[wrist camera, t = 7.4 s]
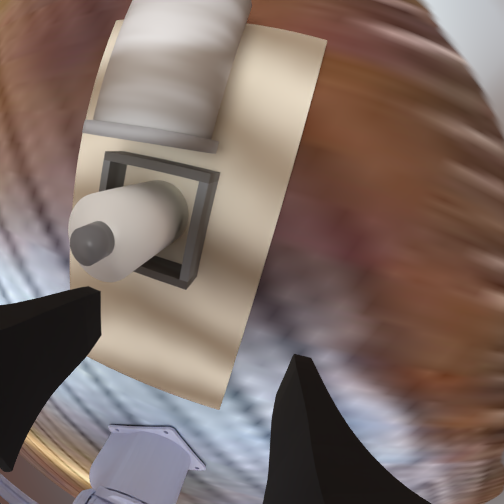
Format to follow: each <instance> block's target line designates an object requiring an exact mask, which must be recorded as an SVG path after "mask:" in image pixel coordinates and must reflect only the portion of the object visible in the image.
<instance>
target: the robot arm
mask: <svg viewBox="0 0 504 504" xmlns="http://www.w3.org/2000/svg"><path fill="white" fill-rule="evenodd" d="M101 335H102V333H101V291H99V290H96V289H94V288H92V287H89V286H86V287H80V288H76V289H71V290H67V291H64V292H60V293H56V294H52V295H48V296H44V297H41V298H36V299H32V300H27V301H23V302H18V303H13V304H7V305H0V468H1V469H2V470H3V471H5V472H10V471H12V470H13V467H14V464H15V462H16V459H17V456H18V454H19V451H20V449H21V447H22V445H23V442H24V440H25V438H26V436H27V434H28V432H29V430H30V428H31V427H32V425H33V423H34V421H35V420H36V418H37V416H38V415H39V413H40V411H41V410H42V408H43V407H44V405H45V404H46V402H47V401H48V399H49V398H50V397H51V395H52V394H53V393H54V392H55V390H56V389H57V388H58V387H59V386H60V385H61V384H62V382H63V381H64V380H65V379H66V378H67V377H68V376H69V375H70V374H71V373H72V372H73V370H74V369H75V368H76V367H77V366H78V365H79V364H80V363H81V362H82V361H83V360H84V359H85V357H86V356H87V355H88V354H89V353H90V351H91V350H92V348H93V347H94V346H95V344H96V343H97V341H98V340H99V338H100V337H101ZM108 429H109V430H110V431H111V432H112V433H111V435H110V436H109V438H108V440H107V441H106V443H105V444H104V446H103V448H102V449H101V451H100V452H99V454H98V456H97V457H96V459H95V460H94V462H93V464H92V466H91V469H90V475H89V477H90V483H91V486H92V488H93V489H88V490H83V491H82V492H81V493H80V494H79V495H78V496H77V497H76V499H75V500H74V502H73V504H176V502H177V499H178V496H179V493H180V491H181V488H182V485H183V482H184V480H185V477H186V474H187V471H188V470H205V469H206V466H205V465H204V464H203V463H202V462H201V460H200V459H199V458H198V457H197V456H196V455H195V454H194V452H193V451H192V450H191V449H190V448H189V447H188V445H187V444H186V443H185V442H184V440H183V439H182V438H181V437H180V436H179V434H178V433H177V432H176V431H175V429H173V428H172V427H139V426H119V425H109V427H108ZM0 495H1V496H2V497H3V498H4V499H5V500H6V501H7V502H9V503H10V504H38V503H37V502H35V501H34V500H32V499H31V498H30V497H28V496H27V495H26V494H24V493H23V492H22V491H21V490H19V489H18V488H17V487H15V486H14V485H13V484H12V483H11V482H9V481H8V480H7V479H6V478H5V477H4V476H3V475H1V474H0ZM0 504H1V503H0ZM263 504H431V503H430V502H428V501H426V500H425V499H423V498H422V497H420V496H419V495H417V494H416V493H414V492H413V491H411V490H410V489H409V488H407V487H406V486H405V485H403V484H402V483H401V482H400V481H399V480H397V479H396V478H395V477H394V476H393V475H392V474H390V473H389V472H388V471H387V470H386V469H385V468H384V467H383V466H382V465H381V464H380V463H379V462H378V461H377V460H376V459H375V458H374V457H373V456H372V455H371V454H370V452H369V451H368V450H367V449H366V448H365V447H364V445H363V444H362V443H361V442H360V440H359V439H358V438H357V437H356V435H355V434H354V433H353V431H352V430H351V429H350V427H349V426H348V424H347V423H346V421H345V420H344V418H343V417H342V415H341V414H340V412H339V410H338V409H337V407H336V405H335V403H334V402H333V400H332V398H331V396H330V394H329V393H328V391H327V389H326V387H325V385H324V383H323V381H322V379H321V377H320V375H319V373H318V371H317V369H316V367H315V365H314V363H313V361H312V359H311V358H309V357H305V356H301V355H297V354H294V355H293V357H292V359H291V362H290V364H289V366H288V369H287V371H286V373H285V376H284V378H283V380H282V382H281V385H280V387H279V389H278V391H277V394H276V398H275V403H274V409H273V414H272V422H271V439H270V456H269V471H268V480H267V485H266V490H265V495H264V500H263Z"/></svg>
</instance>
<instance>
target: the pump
mask: <svg viewBox="0 0 504 504" xmlns="http://www.w3.org/2000/svg"><path fill="white" fill-rule="evenodd" d="M187 223H188V206H187V203H186V200H185V198H184V196H183V194H182V193H181V192H180V190H179V189H178V188H177V187H175V186H174V185H173V184H171V183H169V182H166V181H163V180H152V181H147V182H142V183H137V184H132V185H127V186H123V187H118V188H114V189H109V190H105V191H101V192H96V193H92V194H89V195H87V196H85V197H83V198H82V199H80V200H79V201H78V202H77V204H76V205H75V206H74V208H73V210H72V213H71V215H70V219H69V225H68V235H69V242H70V248H71V251H72V254H73V256H74V258H75V259H76V260H77V261H78V263H79V264H80V266H81V267H82V268H83V269H84V270H85V271H86V272H87V273H88V274H89V275H91V276H92V277H94V278H96V279H98V280H100V281H104V282H116V281H120V280H122V279H124V278H125V277H126V276H128V275H129V274H130V273H132V272H133V271H134V270H136V269H137V268H138V267H140V266H141V265H142V264H144V263H145V262H146V261H148V260H149V259H151V258H152V257H153V256H155V255H156V254H157V253H159V252H160V251H162V250H163V249H164V248H166V247H167V246H168V245H170V244H171V243H173V242H174V241H175V240H177V239H178V238H179V237H180V236H181V235H182V234H183V232H184V231H185V228H186V226H187Z"/></svg>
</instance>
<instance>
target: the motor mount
mask: <svg viewBox="0 0 504 504" xmlns="http://www.w3.org/2000/svg"><path fill="white" fill-rule="evenodd" d="M251 7H252V3H251V0H132V3H131V5H130V7H129V9H128V12H127V14H126V16H125V19H124V20H116V23H115V25H114V28H113V30H112V33H111V36H110V38H109V41H108V44H107V47H106V49H105V52H104V55H103V58H102V61H101V64H100V68H99V71H98V74H97V78H96V81H95V84H94V88H93V92H92V96H91V99H90V103H89V107H88V112H87V116H86V120H85V122H84V126H83V131H82V132H83V135H82V140H81V146H80V151H79V157H78V164H77V171H76V178H75V186H74V196H73V206H72V210H73V208H74V206H75V205H76V204H77V202H78V201H79V200H80V199H82V198H83V197H85V196H87V195H89V194H92V193H96V192H101V191H105V190H109V189H114V188H118V187H123V186H127V185H132V184H137V183H142V182H147V181H152V180H163V181H166V182H169V183H171V184H173V185H174V186H175V187H177V188H178V189H179V190H180V192H181V193H182V194H183V196H184V198H185V200H186V203H187V206H188V223H187V226H186V228H185V231H184V232H183V234H182V235H181V236H180V237H179V238H178V239H177V240H175V241H174V242H173V243H171V244H170V245H168V246H167V247H166V248H164V249H163V250H162V251H160V252H159V253H157V254H156V255H155V256H153V257H152V258H151V259H149V260H148V261H146V262H145V263H144V264H142V265H141V266H140V267H138V268H137V269H136V270H134V271H133V272H132V273H130V274H129V275H128V276H126V277H125V278H124V279H122V280H120V281H116V282H104V281H100V280H98V279H96V278H94V277H92V276H91V275H89V274H88V273H87V272H86V271H85V270H84V269H83V268H82V267H81V266H80V264H79V263H78V261H77V260H76V259H75V258H74V256H73V254H72V251H71V248H70V290H71V289H76V288H80V287H86V286H89V287H92V288H94V289H96V290H99V291H101V333H102V335H101V337H100V338H99V340H98V341H97V343H96V344H95V346H94V347H93V348H92V350H91V351H90V353H89V354H88V355H87V357H89V358H91V359H93V360H95V361H97V362H99V363H101V364H103V365H105V366H107V367H109V368H111V369H114V370H116V371H118V372H120V373H122V374H124V375H127V376H129V377H131V378H133V379H136V380H138V381H140V382H143V383H145V384H148V385H150V386H153V387H155V388H158V389H160V390H163V391H165V392H168V393H170V394H173V395H176V396H179V397H181V398H184V399H187V400H190V401H193V402H196V403H199V404H202V405H205V406H208V407H211V408H214V409H218V410H219V409H220V406H221V403H222V400H223V397H224V394H225V391H226V387H227V384H228V381H229V378H230V375H231V372H232V368H233V365H234V362H235V359H236V356H237V352H238V349H239V346H240V343H241V340H242V336H243V333H244V330H245V327H246V323H247V320H248V317H249V314H250V310H251V307H252V304H253V300H254V297H255V294H256V291H257V287H258V284H259V281H260V277H261V274H262V271H263V267H264V264H265V261H266V257H267V254H268V250H269V247H270V244H271V240H272V237H273V233H274V230H275V227H276V223H277V220H278V216H279V213H280V210H281V206H282V203H283V199H284V196H285V192H286V189H287V185H288V182H289V178H290V175H291V171H292V168H293V164H294V161H295V157H296V154H297V150H298V147H299V143H300V139H301V136H302V132H303V129H304V125H305V121H306V118H307V114H308V111H309V107H310V103H311V100H312V96H313V92H314V89H315V85H316V81H317V77H318V74H319V70H320V66H321V62H322V59H323V55H324V51H325V47H326V44H327V40H323V39H320V38H316V37H312V36H308V35H304V34H300V33H296V32H291V31H287V30H282V29H277V28H272V27H266V26H260V25H254V24H247V23H246V22H247V19H248V16H249V13H250V11H251Z"/></svg>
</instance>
